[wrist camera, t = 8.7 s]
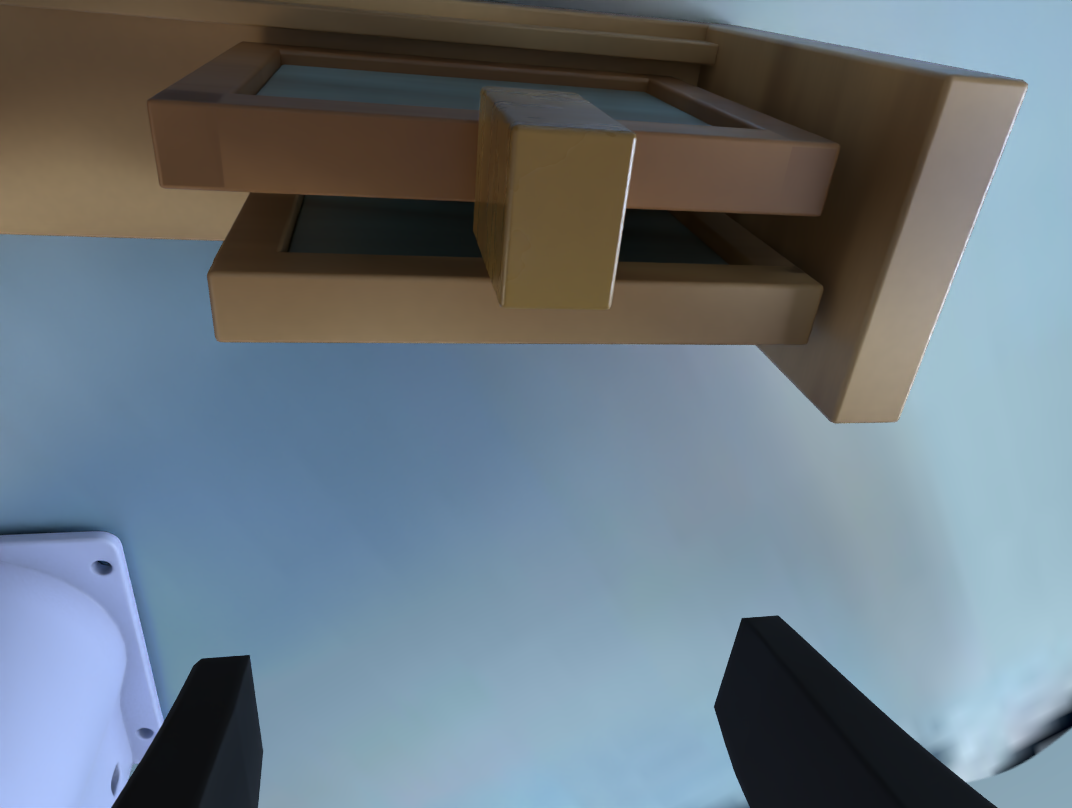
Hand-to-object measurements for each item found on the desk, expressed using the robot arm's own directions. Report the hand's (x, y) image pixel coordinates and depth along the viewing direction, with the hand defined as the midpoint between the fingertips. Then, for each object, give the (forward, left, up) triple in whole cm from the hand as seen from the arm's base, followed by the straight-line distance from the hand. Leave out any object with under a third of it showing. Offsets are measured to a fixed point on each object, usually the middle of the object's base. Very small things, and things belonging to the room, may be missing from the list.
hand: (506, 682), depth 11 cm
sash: (+7, 0, -9) cm, 11 cm away
